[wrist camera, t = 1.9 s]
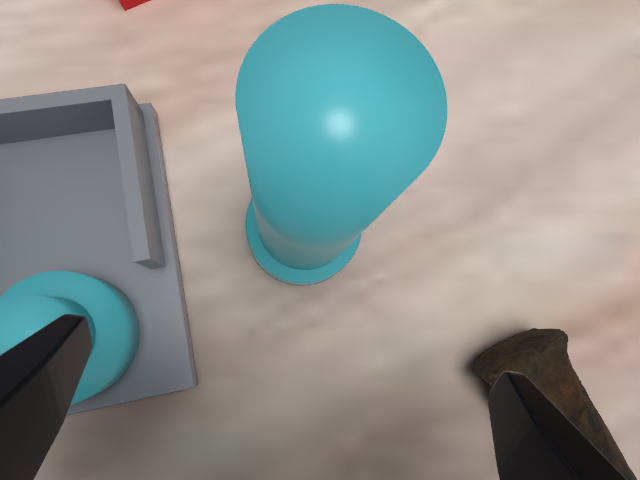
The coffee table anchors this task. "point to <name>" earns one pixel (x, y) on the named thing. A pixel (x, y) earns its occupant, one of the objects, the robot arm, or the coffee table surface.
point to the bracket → (131, 3)
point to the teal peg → (332, 133)
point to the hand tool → (552, 383)
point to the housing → (93, 240)
